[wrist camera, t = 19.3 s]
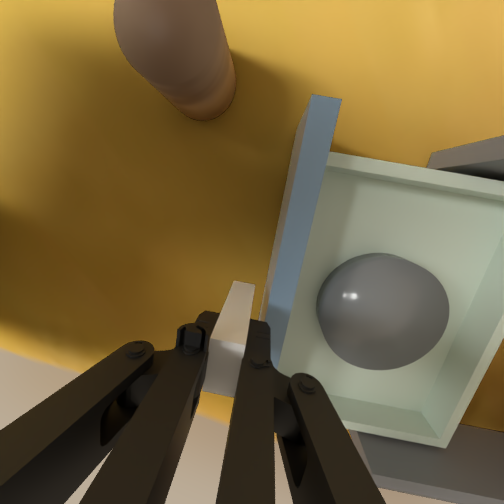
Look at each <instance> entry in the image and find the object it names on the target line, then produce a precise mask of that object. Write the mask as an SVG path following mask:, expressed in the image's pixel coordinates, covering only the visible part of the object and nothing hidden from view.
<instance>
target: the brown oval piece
mask: <svg viewBox="0 0 504 504" xmlns="http://www.w3.org/2000/svg"><path fill="white" fill-rule="evenodd" d="M113 15H114V27H115V33H116V37H117V40H118V43H119V46H120V48H121V50H122V52H123V54H124V56H125V57H126V59H127V60H128V62H129V63H130V64H131V65H132V67H133V68H134V69H135V70H136V71H137V72H139V73H140V74H141V75H142V76H143V77H144V78H145V79H146V80H147V81H148V82H149V83H150V84H151V85H153V86H154V87H155V88H156V89H157V90H158V91H159V92H160V93H161V94H162V95H163V96H164V97H166V98H167V99H168V100H169V101H170V102H171V103H172V104H173V105H174V106H175V107H176V108H177V109H178V110H180V111H181V112H182V113H183V114H184V115H186V116H187V117H189V118H192V119H195V120H200V121H206V120H211V119H214V118H216V117H218V116H219V115H221V114H222V113H223V112H224V111H225V110H226V109H227V108H228V107H229V105H230V103H231V102H232V99H233V97H234V94H235V89H236V73H235V69H234V65H233V62H232V58H231V54H230V51H229V47H228V43H227V40H226V36H225V32H224V29H223V25H222V21H221V18H220V14H219V10H218V6H217V3H216V0H115V3H114V13H113Z"/></svg>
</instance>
